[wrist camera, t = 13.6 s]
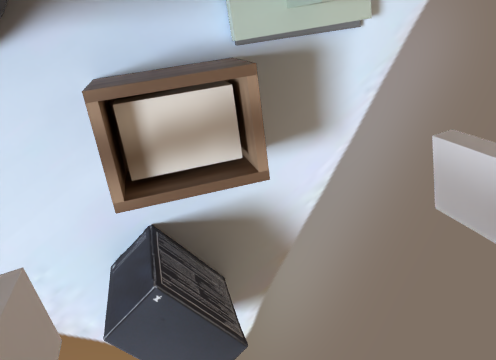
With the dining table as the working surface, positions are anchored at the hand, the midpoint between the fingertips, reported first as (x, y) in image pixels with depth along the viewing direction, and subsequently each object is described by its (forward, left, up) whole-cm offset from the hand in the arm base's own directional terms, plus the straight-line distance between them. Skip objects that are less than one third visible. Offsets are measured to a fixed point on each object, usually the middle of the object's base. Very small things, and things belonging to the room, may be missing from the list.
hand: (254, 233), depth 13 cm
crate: (+1, 0, -26) cm, 26 cm away
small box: (+17, -4, -26) cm, 32 cm away
